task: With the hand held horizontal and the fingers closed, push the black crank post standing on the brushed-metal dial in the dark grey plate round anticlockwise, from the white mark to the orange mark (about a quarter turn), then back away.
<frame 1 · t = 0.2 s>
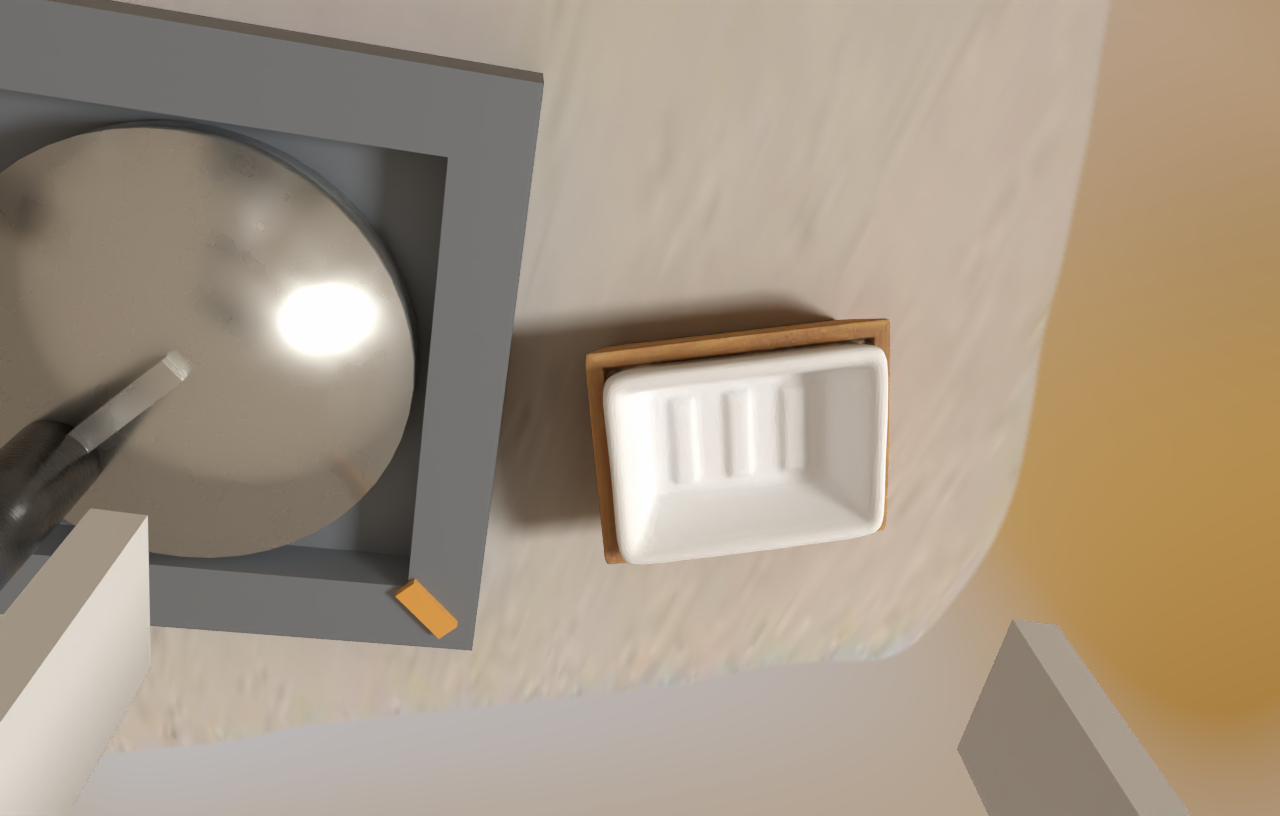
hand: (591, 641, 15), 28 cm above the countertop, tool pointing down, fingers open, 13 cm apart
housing: (212, 328, 41), on the countertop
soap dish: (726, 410, 45), on the countertop
dial: (137, 410, 33), point 8 cm above the countertop, hinge at 0.0°
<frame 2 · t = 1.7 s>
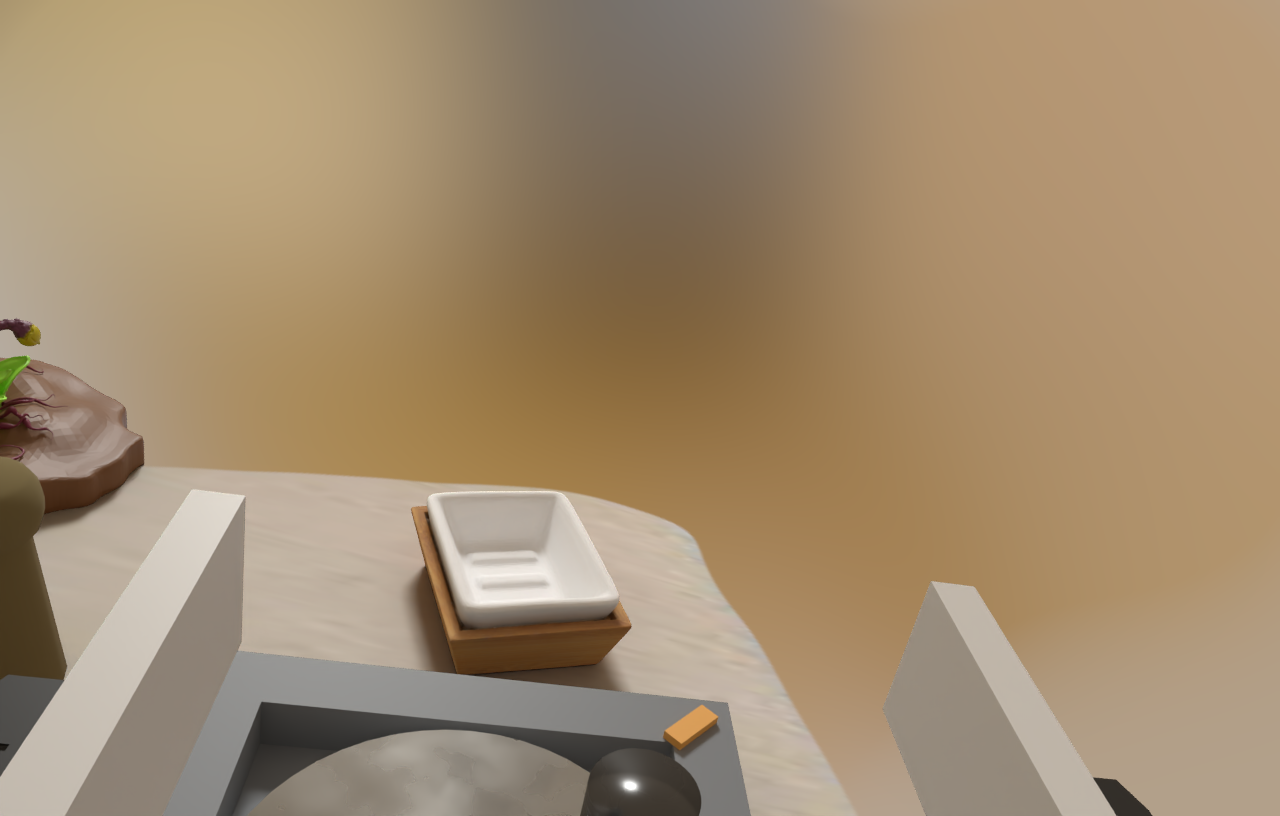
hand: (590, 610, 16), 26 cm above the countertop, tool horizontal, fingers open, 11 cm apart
soap dish: (506, 617, 58), on the countertop
dial: (465, 813, 34), point 8 cm above the countertop, hinge at 0.0°
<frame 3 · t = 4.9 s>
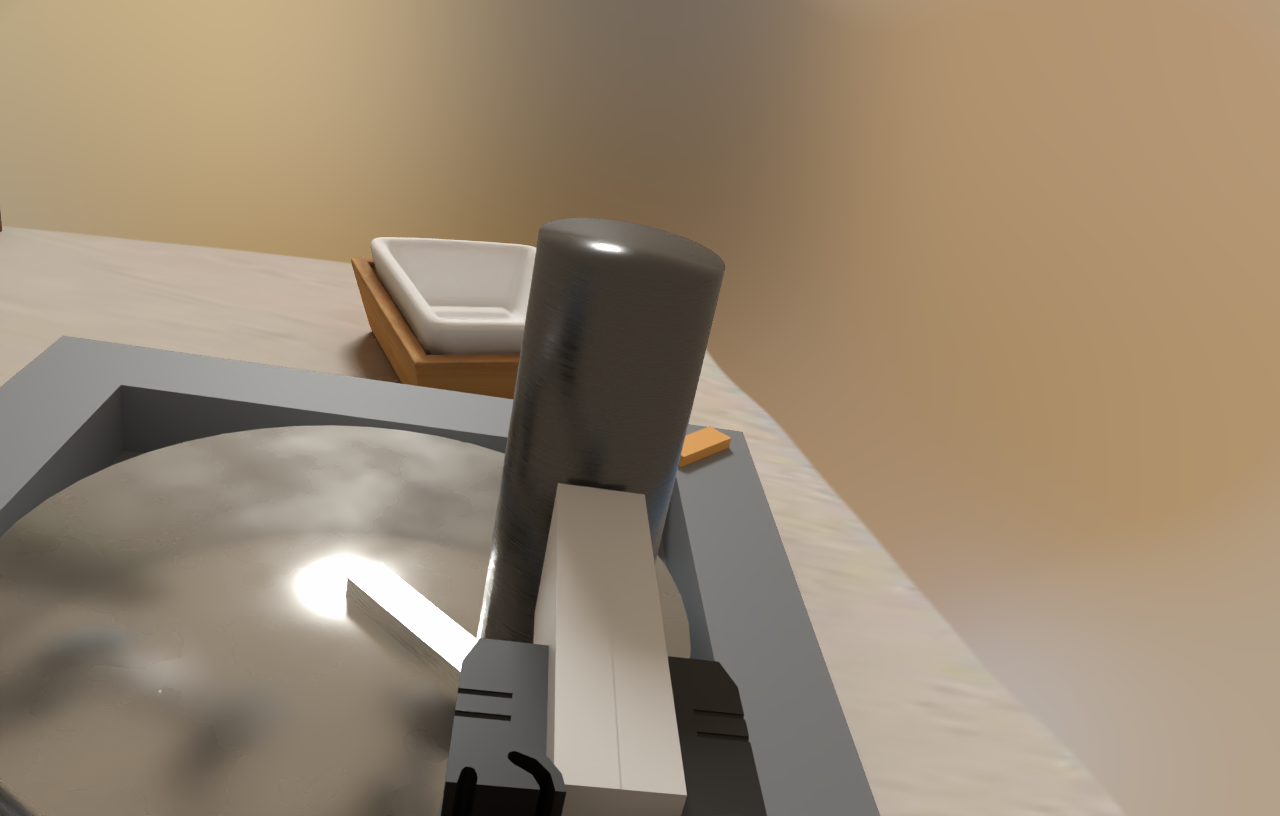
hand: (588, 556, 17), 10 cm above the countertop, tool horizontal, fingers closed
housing: (347, 705, 26), on the countertop
soap dish: (475, 380, 47), on the countertop
dial: (371, 426, 23), point 8 cm above the countertop, hinge at 0.3°, touching gripper
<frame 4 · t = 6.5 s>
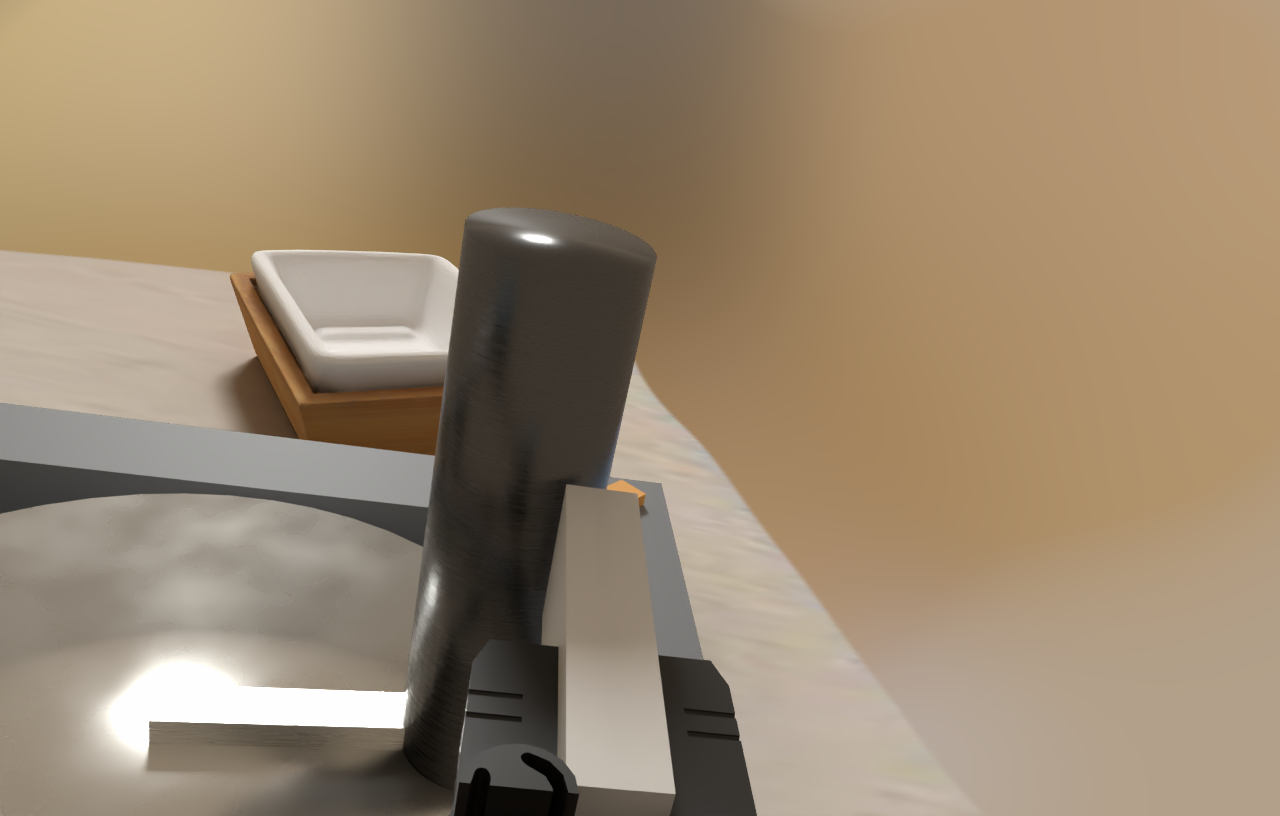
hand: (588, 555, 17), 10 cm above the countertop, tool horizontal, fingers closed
soap dish: (377, 411, 42), on the countertop
dial: (141, 534, 18), point 8 cm above the countertop, hinge at 48.5°, touching gripper
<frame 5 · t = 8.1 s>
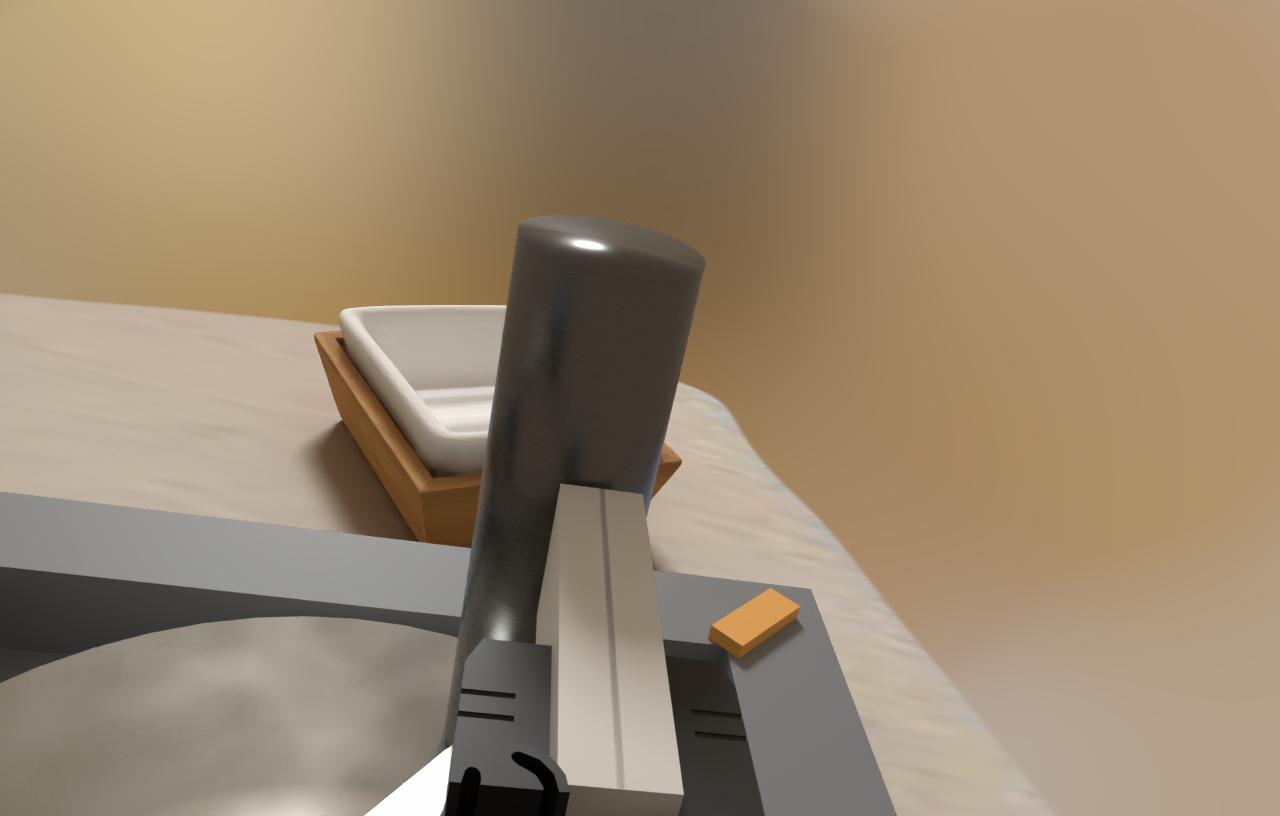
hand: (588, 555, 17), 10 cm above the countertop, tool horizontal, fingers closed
soap dish: (476, 480, 39), on the countertop
dial: (285, 741, 14), point 8 cm above the countertop, hinge at 99.0°, touching gripper
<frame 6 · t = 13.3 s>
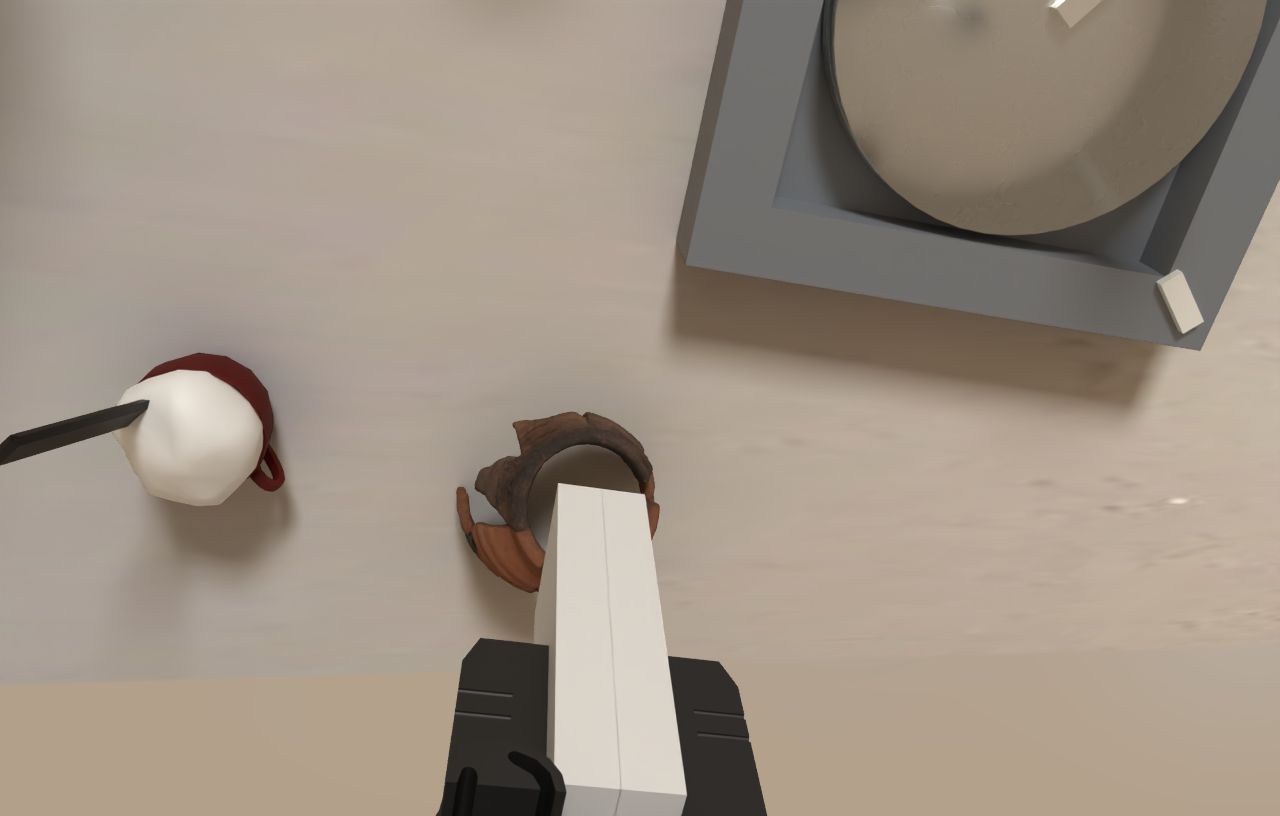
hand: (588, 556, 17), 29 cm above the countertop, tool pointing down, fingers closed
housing: (1011, 13, 42), on the countertop
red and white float: (217, 390, 47), on the countertop
dial: (1109, 31, 34), point 8 cm above the countertop, hinge at 99.0°
brown split ring clamp: (559, 495, 51), on the countertop
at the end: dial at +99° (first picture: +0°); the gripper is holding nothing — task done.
